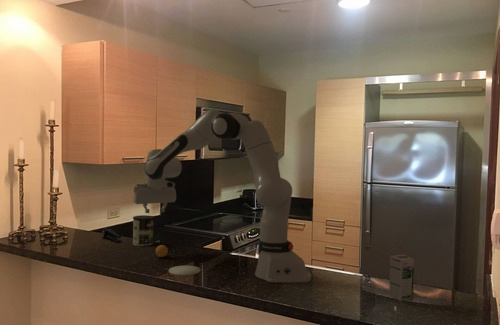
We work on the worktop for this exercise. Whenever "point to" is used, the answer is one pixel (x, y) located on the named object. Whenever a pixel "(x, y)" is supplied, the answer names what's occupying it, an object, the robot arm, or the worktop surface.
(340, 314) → the worktop surface
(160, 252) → the ball
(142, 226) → the coffee can
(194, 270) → the disc
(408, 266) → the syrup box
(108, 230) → the can opener
